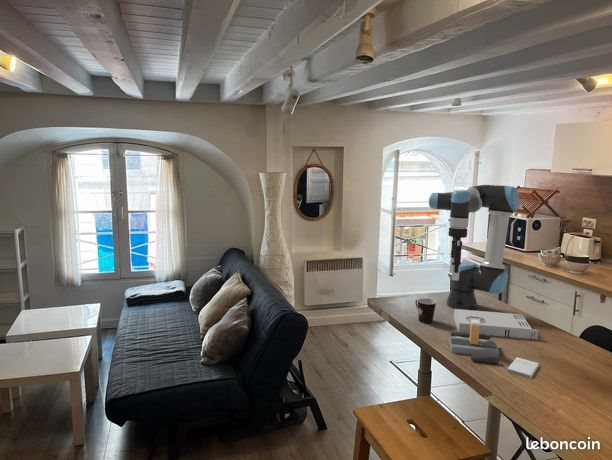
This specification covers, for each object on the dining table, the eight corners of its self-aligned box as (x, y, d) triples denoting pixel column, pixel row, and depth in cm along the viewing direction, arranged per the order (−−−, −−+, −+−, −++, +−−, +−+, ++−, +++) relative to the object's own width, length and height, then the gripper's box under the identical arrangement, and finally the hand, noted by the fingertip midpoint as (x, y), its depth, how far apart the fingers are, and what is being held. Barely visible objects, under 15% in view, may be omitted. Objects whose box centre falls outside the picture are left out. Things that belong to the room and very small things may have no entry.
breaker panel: (451, 352, 180) (451, 346, 179) (449, 341, 190) (449, 335, 190) (498, 357, 175) (499, 351, 175) (494, 346, 186) (494, 339, 186)
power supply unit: (537, 340, 193) (538, 329, 192) (458, 333, 200) (459, 323, 199) (525, 324, 211) (526, 314, 210) (453, 318, 218) (454, 308, 217)
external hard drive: (507, 372, 165) (516, 360, 174) (530, 379, 160) (539, 366, 169) (507, 368, 165) (516, 356, 174) (531, 375, 160) (539, 363, 169)
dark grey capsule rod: (470, 361, 172) (471, 356, 171) (470, 359, 174) (470, 353, 173) (499, 365, 169) (500, 359, 169) (498, 362, 172) (498, 356, 171)
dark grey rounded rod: (450, 337, 194) (450, 332, 194) (450, 335, 196) (450, 330, 196) (490, 341, 190) (490, 336, 190) (489, 339, 193) (489, 334, 192)
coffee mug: (436, 324, 209) (438, 304, 207) (418, 324, 209) (419, 304, 207) (430, 315, 220) (431, 296, 218) (413, 315, 220) (414, 296, 218)
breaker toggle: (470, 344, 181) (472, 322, 179) (469, 339, 185) (470, 319, 183) (478, 344, 180) (480, 323, 178) (476, 340, 184) (478, 320, 182)
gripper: (447, 223, 200) (443, 269, 203) (451, 230, 176) (446, 282, 179) (464, 224, 198) (460, 270, 201) (471, 232, 174) (466, 284, 177)
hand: (453, 276), depth 190 cm, fingers open, 13 cm apart
